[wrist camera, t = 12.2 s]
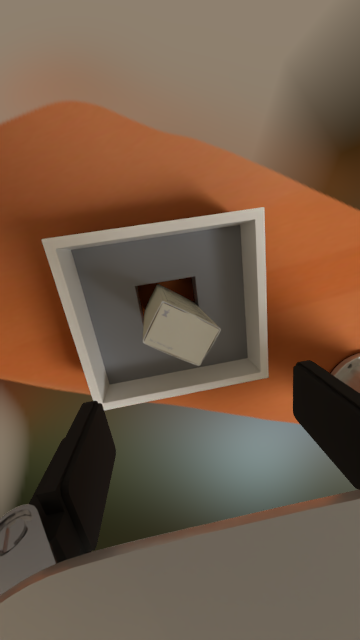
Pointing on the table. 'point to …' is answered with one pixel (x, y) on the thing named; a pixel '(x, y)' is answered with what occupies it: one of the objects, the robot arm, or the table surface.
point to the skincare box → (178, 326)
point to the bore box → (158, 266)
